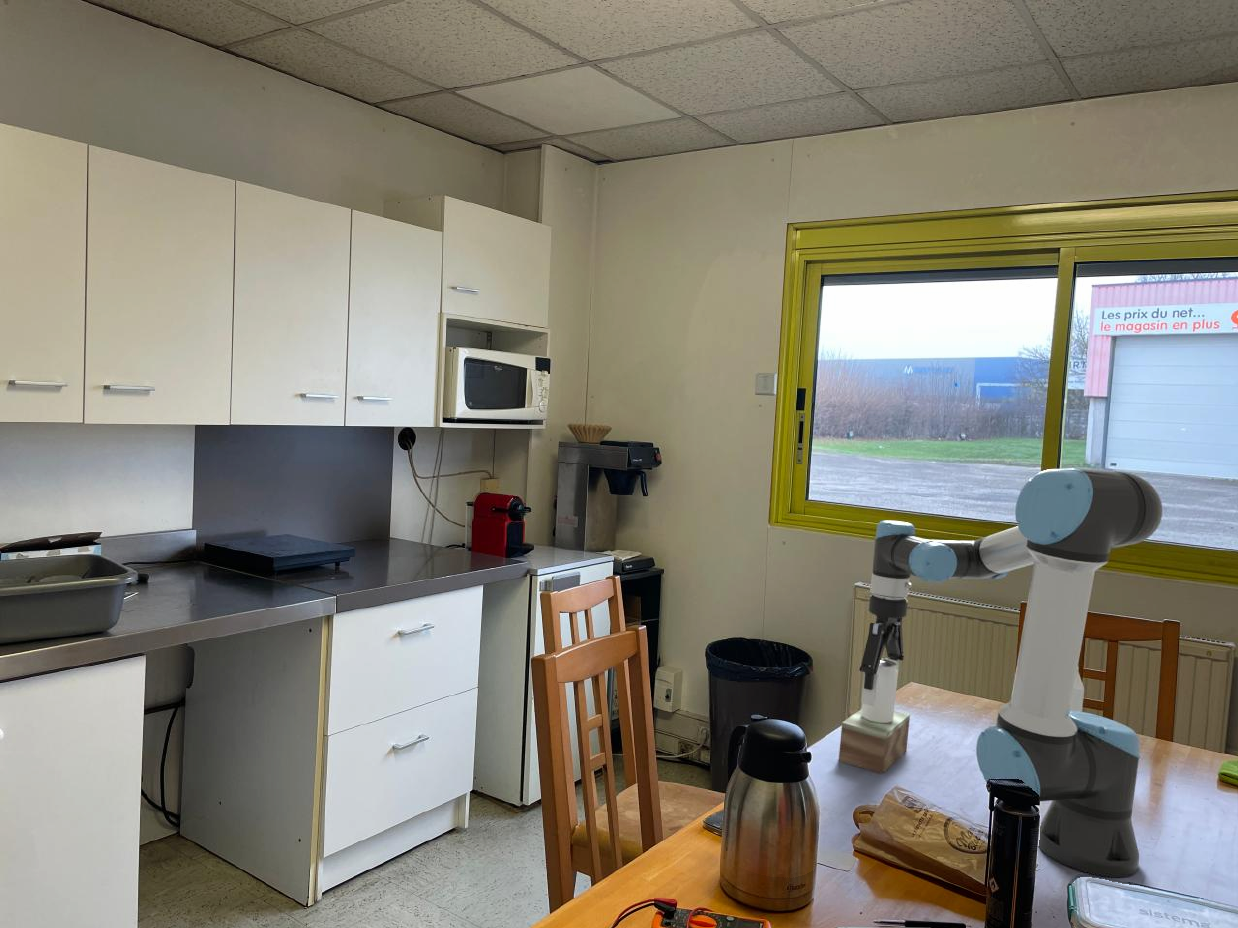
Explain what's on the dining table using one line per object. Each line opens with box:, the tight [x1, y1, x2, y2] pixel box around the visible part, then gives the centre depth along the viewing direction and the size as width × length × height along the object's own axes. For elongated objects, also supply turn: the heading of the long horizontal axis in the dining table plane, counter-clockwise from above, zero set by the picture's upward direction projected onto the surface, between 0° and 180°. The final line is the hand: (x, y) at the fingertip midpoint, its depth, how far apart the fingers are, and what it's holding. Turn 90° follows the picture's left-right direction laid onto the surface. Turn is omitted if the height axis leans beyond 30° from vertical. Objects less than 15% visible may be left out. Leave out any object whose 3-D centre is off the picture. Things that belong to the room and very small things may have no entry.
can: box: [860, 658, 899, 724], centre depth 187 cm, size 6×6×12 cm
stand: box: [838, 709, 911, 774], centre depth 188 cm, size 16×9×8 cm, turn 145°
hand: (879, 696), depth 187 cm, fingers open, 13 cm apart
